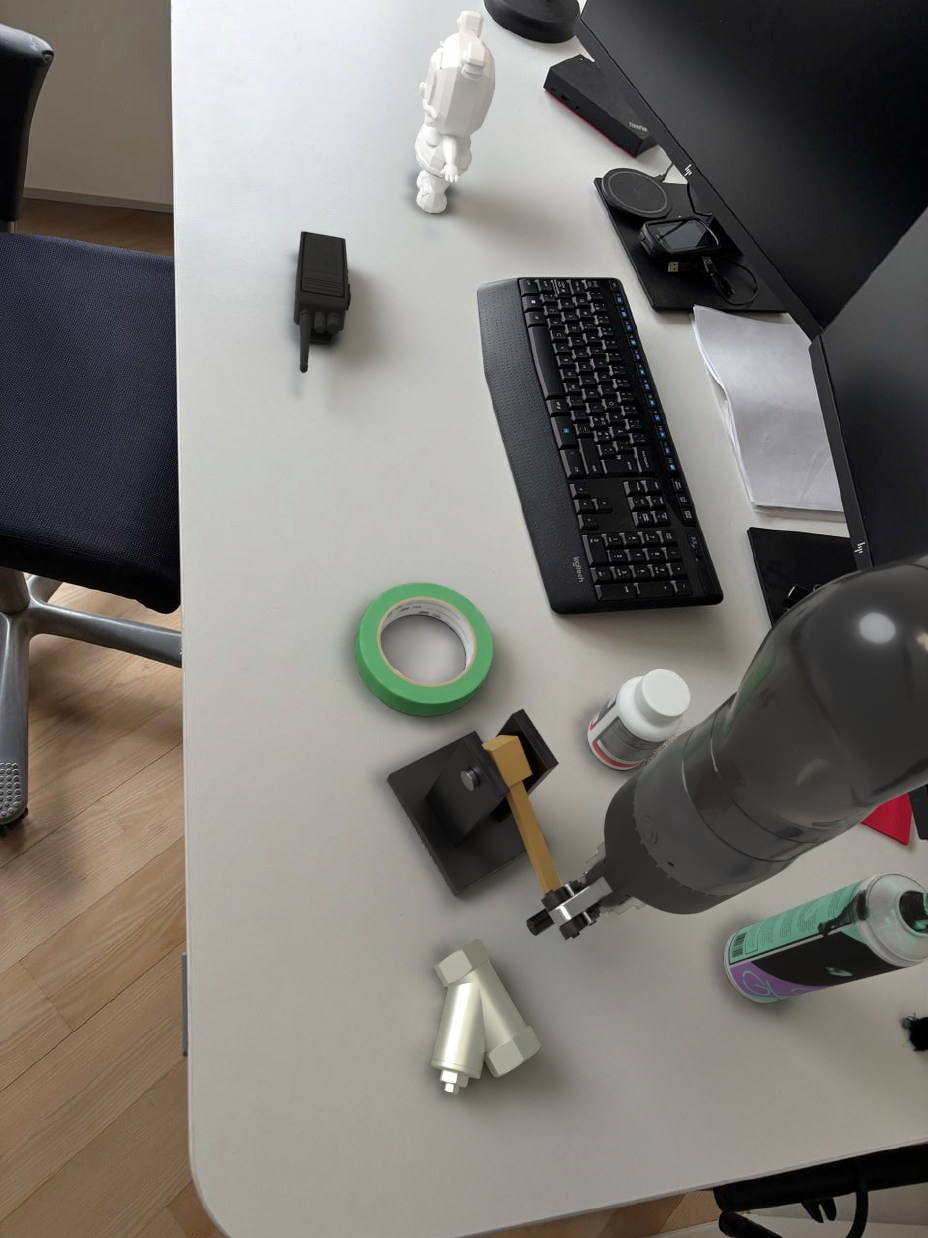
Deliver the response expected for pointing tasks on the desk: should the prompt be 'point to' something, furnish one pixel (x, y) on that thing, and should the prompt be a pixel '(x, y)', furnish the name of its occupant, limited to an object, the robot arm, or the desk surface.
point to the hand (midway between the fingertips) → (584, 901)
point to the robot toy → (453, 109)
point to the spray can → (832, 940)
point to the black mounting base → (469, 802)
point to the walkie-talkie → (320, 290)
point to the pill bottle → (639, 718)
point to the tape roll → (409, 692)
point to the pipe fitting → (477, 1021)
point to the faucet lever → (525, 818)
